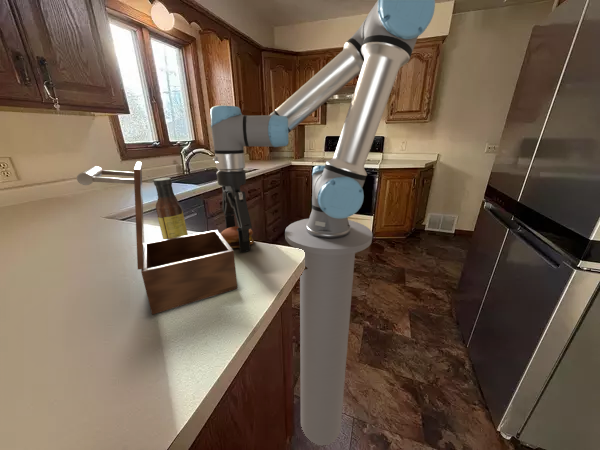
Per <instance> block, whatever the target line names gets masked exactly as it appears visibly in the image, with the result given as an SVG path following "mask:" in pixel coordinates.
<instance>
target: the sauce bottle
mask: <svg viewBox="0 0 600 450" xmlns="http://www.w3.org/2000/svg"><path fill="white" fill-rule="evenodd" d="M153 185H154V187H155V189H156V193H157V195H156V196H157V201H156V203H155V210H156V214H157V220H158V224H159V228H160V232H161V236H162V240H164V239H169V238H175V237H180V236H186V235H189V234H188V228H187V224H186V219H185V215H184V211H183V207H182V205H181V204H180V202H179V199H177V197H176V195H175V192H174V190H173V189H174V188H173V181H172V179H171V178H170V177H161V178H155V179H153Z"/></svg>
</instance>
